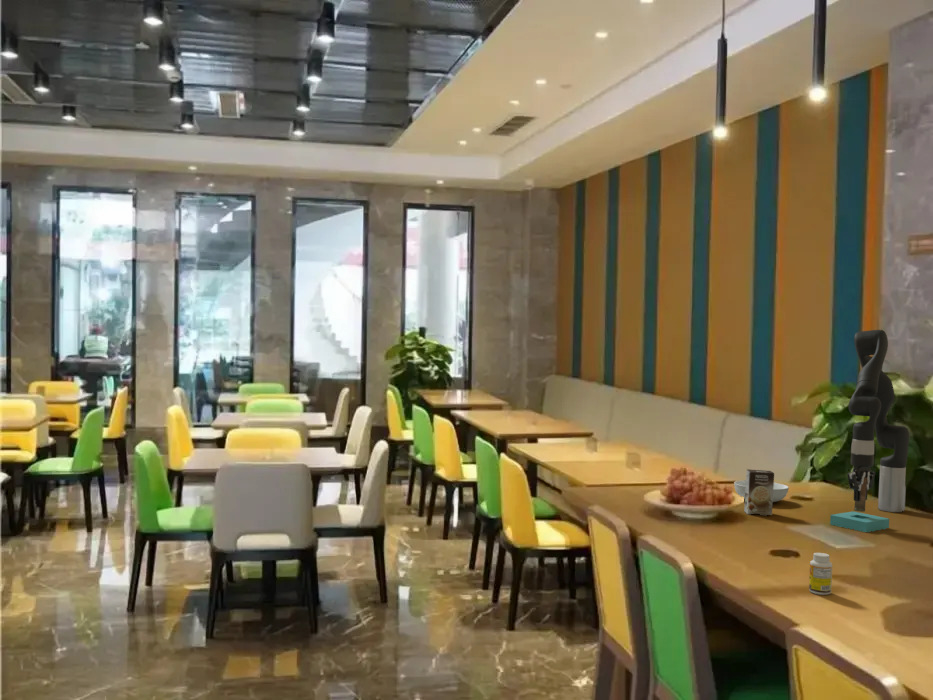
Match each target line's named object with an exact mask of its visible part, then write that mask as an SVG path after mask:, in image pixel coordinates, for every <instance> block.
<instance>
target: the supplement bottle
mask: <svg viewBox="0 0 933 700" xmlns="http://www.w3.org/2000/svg"><path fill="white" fill-rule="evenodd" d="M812 558H813V559H812V560H810V561H809V575H808V576H809V577H808V578H809V582H808V583H809V584H808V589H809V592H810V593H812V594H815V595H821V596H828V595H830V594H831V593H832V583H833V582H832V581H833V580H832V579H833V563H832V562H831V561H830V555H829V554H828V553H823V552H813V556H812Z"/></svg>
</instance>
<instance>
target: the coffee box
mask: <svg viewBox="0 0 933 700" xmlns="http://www.w3.org/2000/svg"><path fill="white" fill-rule="evenodd" d="M745 480H746V490H745V498H744V506H743V508H744V509H743V510H744V513H745V514H747V515H751V514H760V515H759V516H767V515H772V516H773V503H774V502H773V486H774V483H775V472H773V471H771V470H762V469H750V468H749V469H748V468H746V477H745Z"/></svg>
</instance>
